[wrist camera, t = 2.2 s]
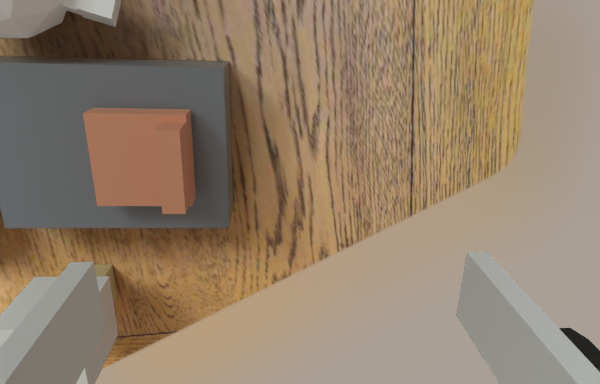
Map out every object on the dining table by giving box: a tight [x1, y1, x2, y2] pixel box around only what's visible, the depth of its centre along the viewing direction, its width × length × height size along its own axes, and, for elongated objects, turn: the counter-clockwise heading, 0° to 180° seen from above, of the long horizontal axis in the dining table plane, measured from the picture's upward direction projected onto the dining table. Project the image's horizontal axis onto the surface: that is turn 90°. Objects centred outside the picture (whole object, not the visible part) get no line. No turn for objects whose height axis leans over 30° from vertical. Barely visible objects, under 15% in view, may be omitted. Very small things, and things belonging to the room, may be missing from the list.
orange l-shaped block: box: [83, 108, 196, 214], centre depth 31 cm, size 7×7×4 cm
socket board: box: [0, 56, 233, 228], centre depth 36 cm, size 18×13×5 cm
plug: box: [0, 264, 118, 384], centre depth 38 cm, size 6×6×11 cm
